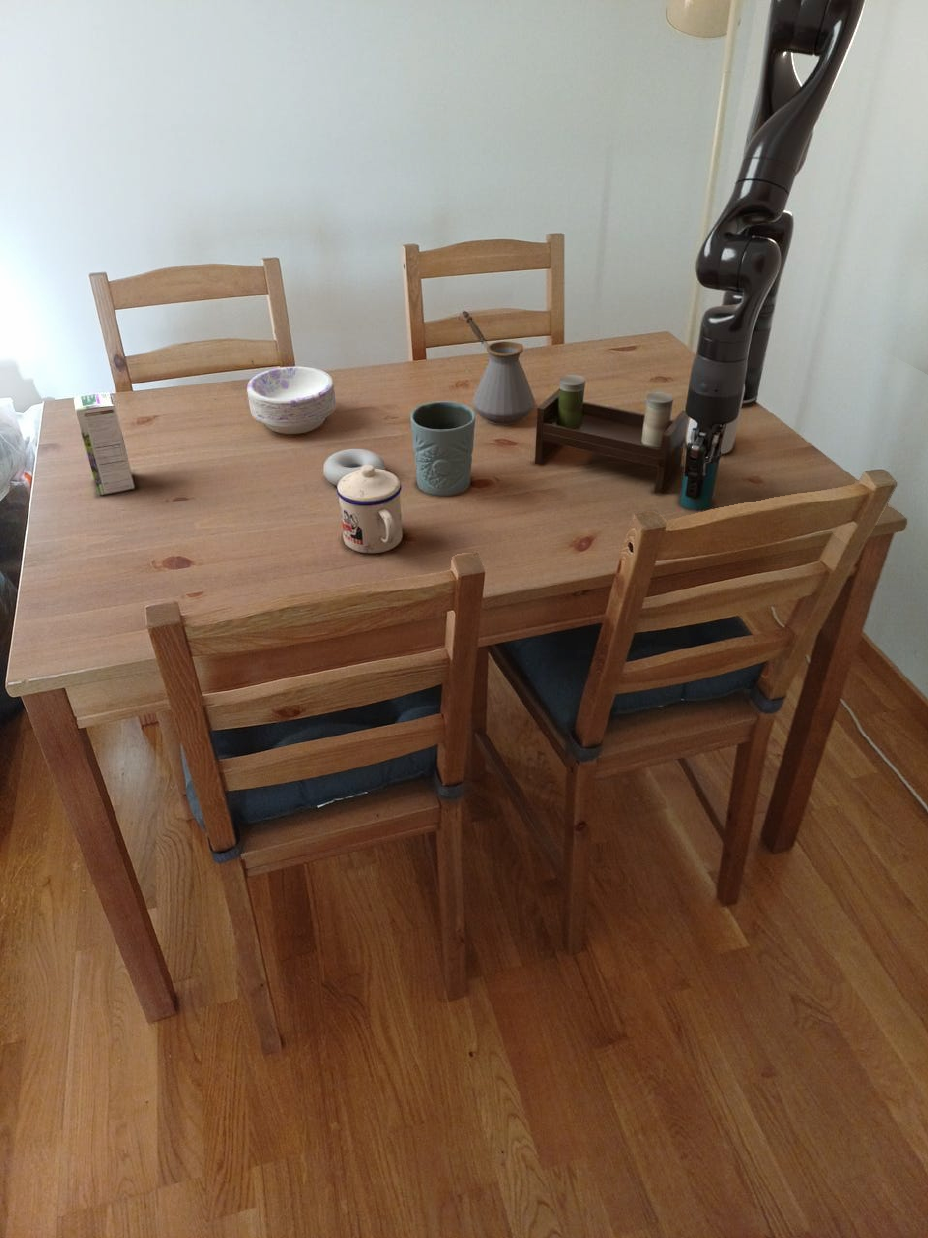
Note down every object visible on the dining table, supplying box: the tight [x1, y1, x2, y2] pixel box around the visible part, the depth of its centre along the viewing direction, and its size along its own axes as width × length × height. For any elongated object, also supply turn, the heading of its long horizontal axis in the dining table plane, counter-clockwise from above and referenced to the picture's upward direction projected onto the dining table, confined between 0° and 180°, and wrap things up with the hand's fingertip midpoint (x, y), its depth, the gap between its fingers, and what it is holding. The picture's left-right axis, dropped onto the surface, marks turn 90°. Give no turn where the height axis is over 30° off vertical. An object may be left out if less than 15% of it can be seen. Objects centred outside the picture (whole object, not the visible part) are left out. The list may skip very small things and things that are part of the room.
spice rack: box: [534, 374, 690, 495], centre depth 142 cm, size 10×22×14 cm, turn 62°
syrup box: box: [73, 392, 136, 496], centre depth 138 cm, size 6×6×14 cm
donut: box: [322, 448, 386, 487], centre depth 143 cm, size 10×4×10 cm
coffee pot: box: [457, 310, 536, 426], centre depth 161 cm, size 21×12×15 cm, turn 28°
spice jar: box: [679, 447, 723, 511], centre depth 134 cm, size 5×5×9 cm
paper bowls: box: [246, 366, 337, 435], centre depth 158 cm, size 15×15×8 cm
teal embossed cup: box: [409, 400, 476, 497], centre depth 138 cm, size 10×10×12 cm
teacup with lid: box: [336, 465, 403, 555], centre depth 124 cm, size 12×9×12 cm
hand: (697, 488), depth 135 cm, fingers closed on spice jar, 4 cm apart
